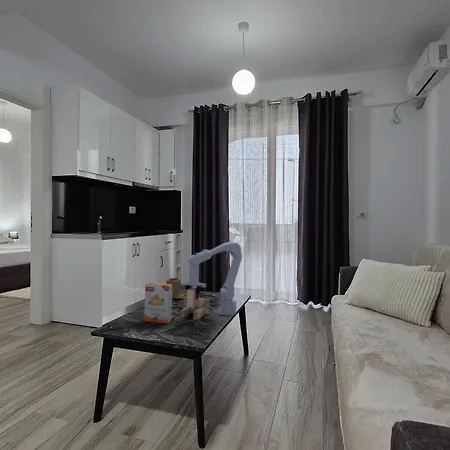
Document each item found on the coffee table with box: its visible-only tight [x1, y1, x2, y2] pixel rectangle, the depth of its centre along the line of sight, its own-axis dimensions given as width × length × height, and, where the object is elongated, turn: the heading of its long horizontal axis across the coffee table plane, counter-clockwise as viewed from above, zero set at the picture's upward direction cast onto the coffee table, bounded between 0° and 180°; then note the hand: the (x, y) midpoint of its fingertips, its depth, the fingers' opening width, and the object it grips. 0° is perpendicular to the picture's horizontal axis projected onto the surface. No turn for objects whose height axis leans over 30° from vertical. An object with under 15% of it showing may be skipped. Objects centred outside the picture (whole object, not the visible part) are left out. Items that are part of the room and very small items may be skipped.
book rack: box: [179, 297, 210, 321], centre depth 189 cm, size 16×14×9 cm
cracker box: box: [143, 282, 173, 325], centre depth 177 cm, size 14×6×21 cm, turn 79°
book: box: [186, 286, 200, 308], centre depth 188 cm, size 4×10×10 cm, turn 165°
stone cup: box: [165, 276, 187, 300], centre depth 230 cm, size 15×12×15 cm
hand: (193, 298), depth 188 cm, fingers closed on book, 4 cm apart
